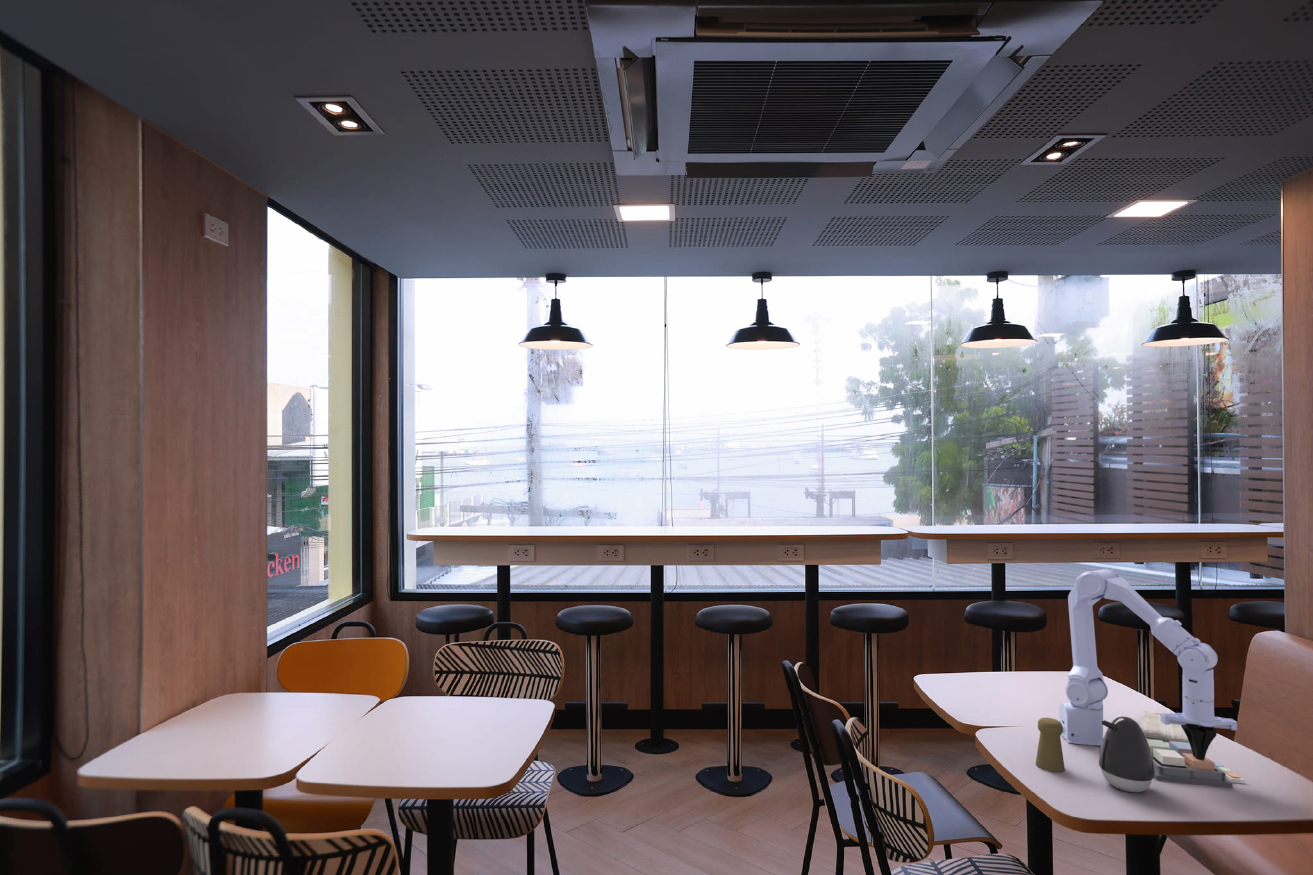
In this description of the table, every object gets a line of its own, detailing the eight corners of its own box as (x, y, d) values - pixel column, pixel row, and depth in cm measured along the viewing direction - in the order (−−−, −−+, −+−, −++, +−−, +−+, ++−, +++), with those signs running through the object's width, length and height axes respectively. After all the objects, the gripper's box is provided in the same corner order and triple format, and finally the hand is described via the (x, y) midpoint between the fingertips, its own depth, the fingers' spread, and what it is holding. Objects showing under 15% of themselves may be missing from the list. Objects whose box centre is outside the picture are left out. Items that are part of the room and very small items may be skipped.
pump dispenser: (1088, 775, 160) (1088, 708, 160) (1134, 777, 159) (1134, 709, 160) (1115, 797, 149) (1116, 725, 150) (1165, 798, 149) (1165, 726, 149)
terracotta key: (1192, 768, 159) (1192, 760, 159) (1182, 760, 163) (1182, 752, 163) (1214, 770, 158) (1214, 762, 158) (1203, 762, 162) (1203, 754, 162)
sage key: (1149, 753, 166) (1149, 745, 166) (1141, 746, 170) (1141, 738, 170) (1170, 755, 165) (1170, 747, 165) (1161, 747, 169) (1161, 740, 169)
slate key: (1178, 756, 164) (1178, 748, 165) (1168, 748, 169) (1168, 740, 169) (1199, 758, 164) (1199, 750, 164) (1189, 750, 168) (1189, 742, 168)
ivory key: (1162, 764, 160) (1162, 756, 160) (1153, 756, 164) (1153, 748, 164) (1184, 766, 159) (1184, 758, 159) (1174, 758, 163) (1174, 750, 163)
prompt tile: (1231, 782, 158) (1231, 777, 158) (1208, 765, 166) (1208, 760, 166) (1243, 783, 157) (1243, 778, 157) (1219, 766, 166) (1219, 761, 166)
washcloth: (1193, 728, 191) (1193, 716, 191) (1199, 750, 176) (1199, 737, 176) (1140, 718, 198) (1140, 707, 198) (1141, 739, 183) (1141, 727, 183)
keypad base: (1156, 779, 158) (1156, 768, 158) (1126, 752, 173) (1126, 742, 173) (1232, 787, 155) (1232, 775, 155) (1195, 759, 170) (1195, 748, 170)
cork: (1061, 763, 166) (1061, 716, 166) (1067, 774, 160) (1067, 725, 160) (1033, 759, 168) (1033, 713, 168) (1038, 770, 162) (1038, 721, 162)
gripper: (1171, 701, 158) (1171, 761, 158) (1245, 706, 155) (1245, 768, 155) (1156, 691, 165) (1156, 749, 165) (1226, 696, 162) (1226, 755, 162)
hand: (1198, 758), depth 160 cm, fingers closed, pressing on terracotta key
